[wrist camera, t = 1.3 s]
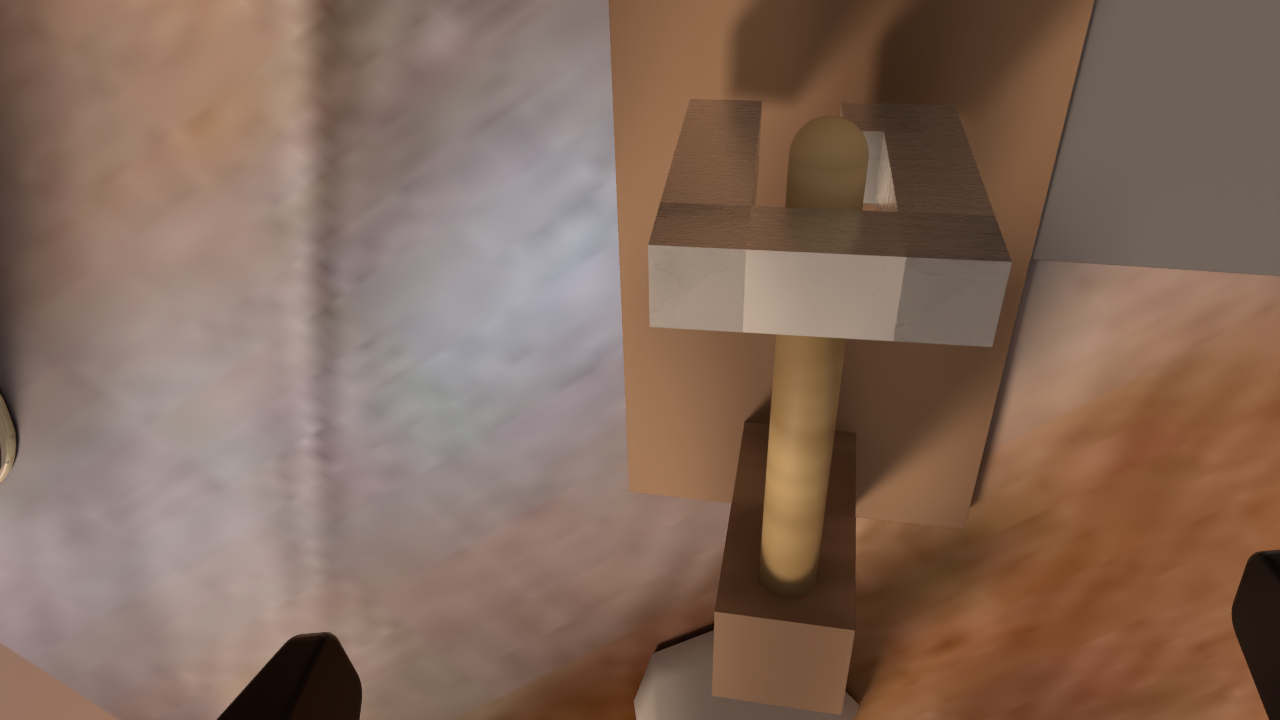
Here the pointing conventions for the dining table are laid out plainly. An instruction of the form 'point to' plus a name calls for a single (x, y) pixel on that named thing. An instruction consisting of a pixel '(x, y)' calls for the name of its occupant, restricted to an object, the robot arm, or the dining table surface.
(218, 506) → the dining table surface
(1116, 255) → the slate coaster
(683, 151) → the slotted rectangular block
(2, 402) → the coffee can
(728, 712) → the flask
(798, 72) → the link stand
